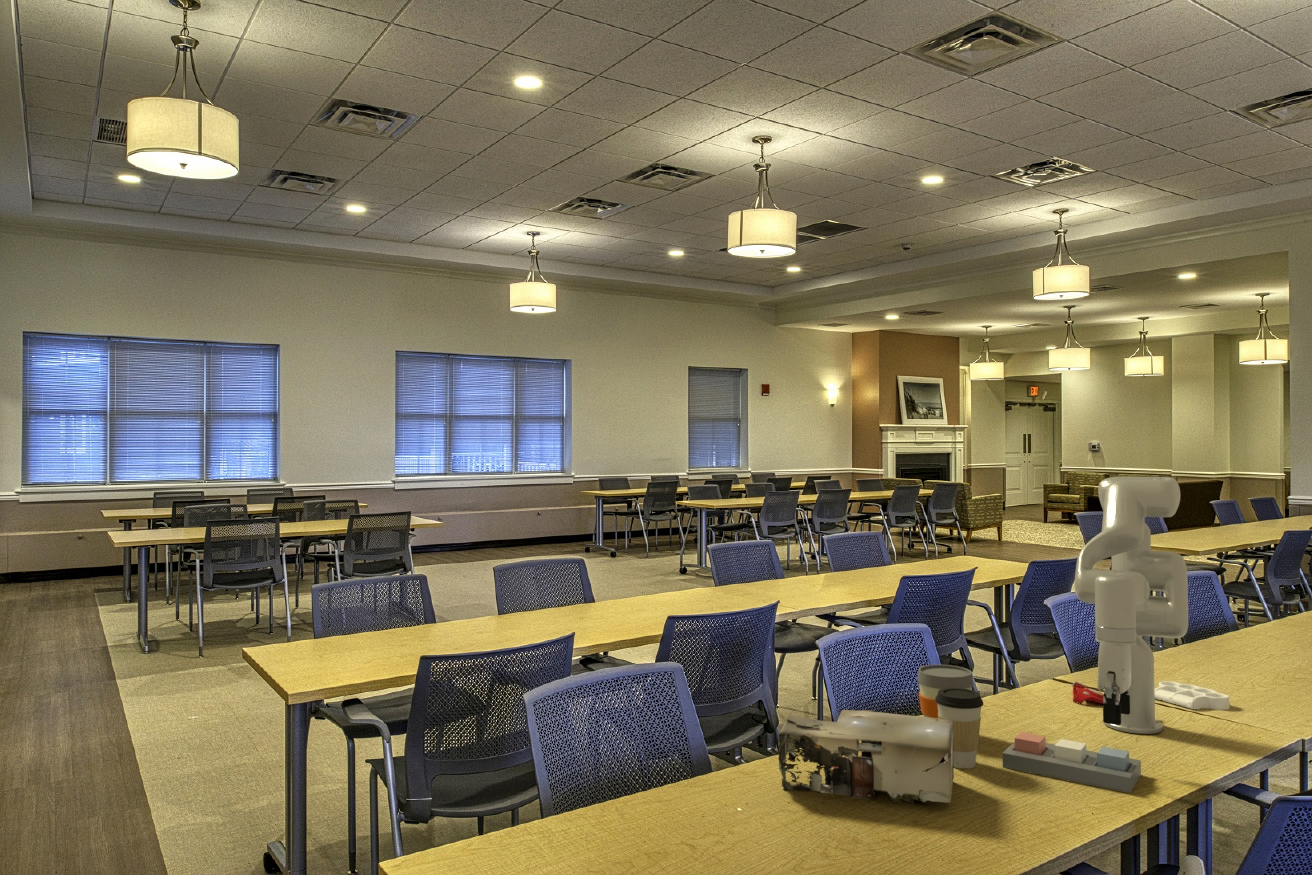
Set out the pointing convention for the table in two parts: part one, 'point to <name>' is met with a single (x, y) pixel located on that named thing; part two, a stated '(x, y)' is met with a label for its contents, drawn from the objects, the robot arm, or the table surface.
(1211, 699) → the white egg tray
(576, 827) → the table surface
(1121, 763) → the slate-blue key
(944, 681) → the reusable coffee cup
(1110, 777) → the keypad base
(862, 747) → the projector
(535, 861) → the table surface
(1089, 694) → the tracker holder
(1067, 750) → the off-white key
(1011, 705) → the table surface
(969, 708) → the coffee cup
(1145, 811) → the table surface
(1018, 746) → the brick-red key
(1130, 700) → the robot arm
